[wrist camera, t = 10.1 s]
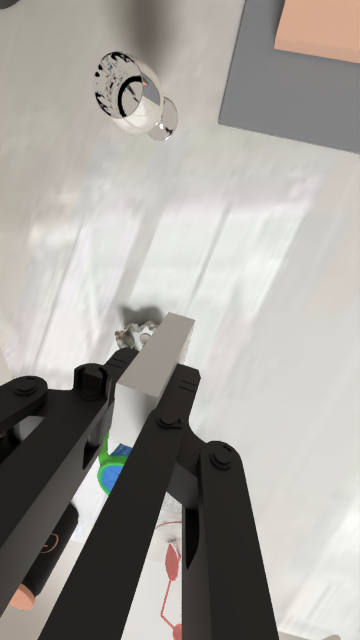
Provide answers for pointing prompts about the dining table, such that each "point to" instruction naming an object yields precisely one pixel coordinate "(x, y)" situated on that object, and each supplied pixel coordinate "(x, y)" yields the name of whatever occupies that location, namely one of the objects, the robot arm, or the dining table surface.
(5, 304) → the dining table surface
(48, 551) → the coffee jar
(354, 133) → the mat
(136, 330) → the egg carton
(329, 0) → the peach rectangular block
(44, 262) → the dining table surface
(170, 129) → the wineglass
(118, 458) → the snack cup
